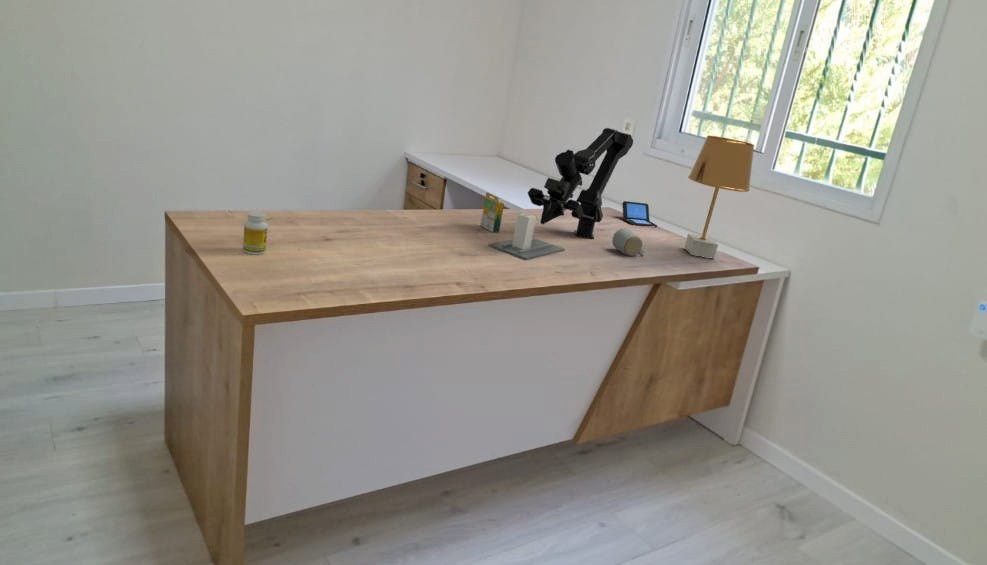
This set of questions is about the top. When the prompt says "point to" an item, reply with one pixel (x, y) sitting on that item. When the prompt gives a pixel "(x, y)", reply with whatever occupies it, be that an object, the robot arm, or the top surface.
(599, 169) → the robot arm
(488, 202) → the crayon box
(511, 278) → the top surface
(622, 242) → the ceramic mug
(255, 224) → the supplement bottle
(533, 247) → the fader console
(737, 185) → the lamp
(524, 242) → the fader knob
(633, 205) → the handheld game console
